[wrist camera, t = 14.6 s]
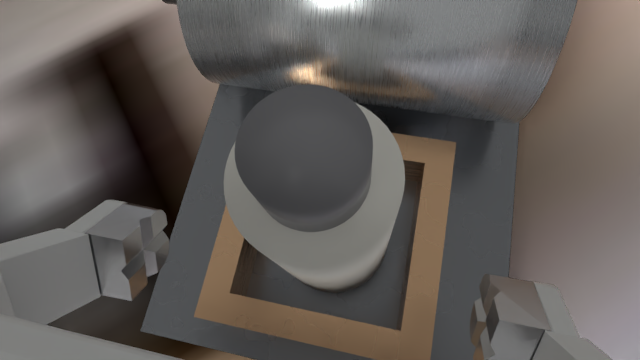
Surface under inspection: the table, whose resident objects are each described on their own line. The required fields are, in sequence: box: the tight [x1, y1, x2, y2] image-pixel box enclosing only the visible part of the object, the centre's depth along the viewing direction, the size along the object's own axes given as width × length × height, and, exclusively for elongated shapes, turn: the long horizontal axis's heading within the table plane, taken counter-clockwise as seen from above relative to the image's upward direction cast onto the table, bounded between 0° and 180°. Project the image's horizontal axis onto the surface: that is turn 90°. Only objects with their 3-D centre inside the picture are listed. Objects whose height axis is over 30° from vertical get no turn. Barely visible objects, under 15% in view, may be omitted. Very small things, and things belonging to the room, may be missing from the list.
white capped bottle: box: [224, 84, 405, 293], centre depth 15 cm, size 5×5×11 cm
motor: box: [140, 0, 577, 360], centre depth 18 cm, size 18×22×11 cm
